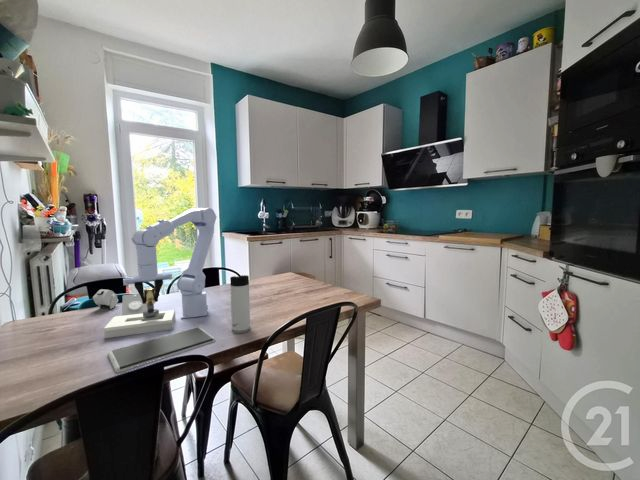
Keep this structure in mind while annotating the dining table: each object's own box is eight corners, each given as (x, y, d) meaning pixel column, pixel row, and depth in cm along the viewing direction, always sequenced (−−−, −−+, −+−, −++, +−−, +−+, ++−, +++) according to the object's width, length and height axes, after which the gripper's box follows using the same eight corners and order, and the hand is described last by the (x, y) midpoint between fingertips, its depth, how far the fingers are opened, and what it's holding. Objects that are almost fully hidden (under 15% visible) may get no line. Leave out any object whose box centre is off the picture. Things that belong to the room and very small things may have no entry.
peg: (161, 312, 103) (159, 287, 102) (155, 317, 99) (153, 290, 98) (146, 313, 103) (144, 287, 102) (140, 318, 98) (138, 291, 97)
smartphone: (216, 343, 93) (216, 338, 93) (116, 375, 75) (115, 369, 74) (200, 330, 103) (200, 326, 103) (107, 356, 84) (107, 351, 84)
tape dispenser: (103, 311, 125) (87, 298, 118) (112, 298, 130) (98, 285, 123) (115, 312, 124) (100, 299, 117) (124, 299, 129) (110, 286, 122)
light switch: (121, 320, 106) (122, 293, 116) (123, 331, 109) (123, 304, 119) (148, 316, 110) (146, 290, 120) (149, 326, 113) (147, 300, 123)
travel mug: (234, 335, 97) (232, 277, 95) (230, 328, 103) (228, 274, 101) (252, 331, 100) (250, 275, 98) (247, 325, 106) (246, 272, 104)
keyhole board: (175, 318, 112) (175, 309, 112) (172, 329, 102) (171, 319, 102) (114, 325, 105) (114, 316, 105) (104, 338, 95) (104, 328, 95)
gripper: (169, 260, 106) (171, 295, 108) (122, 264, 98) (125, 302, 100) (172, 263, 100) (174, 300, 102) (122, 267, 92) (125, 308, 94)
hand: (150, 302), depth 100 cm, fingers closed on peg, 3 cm apart
